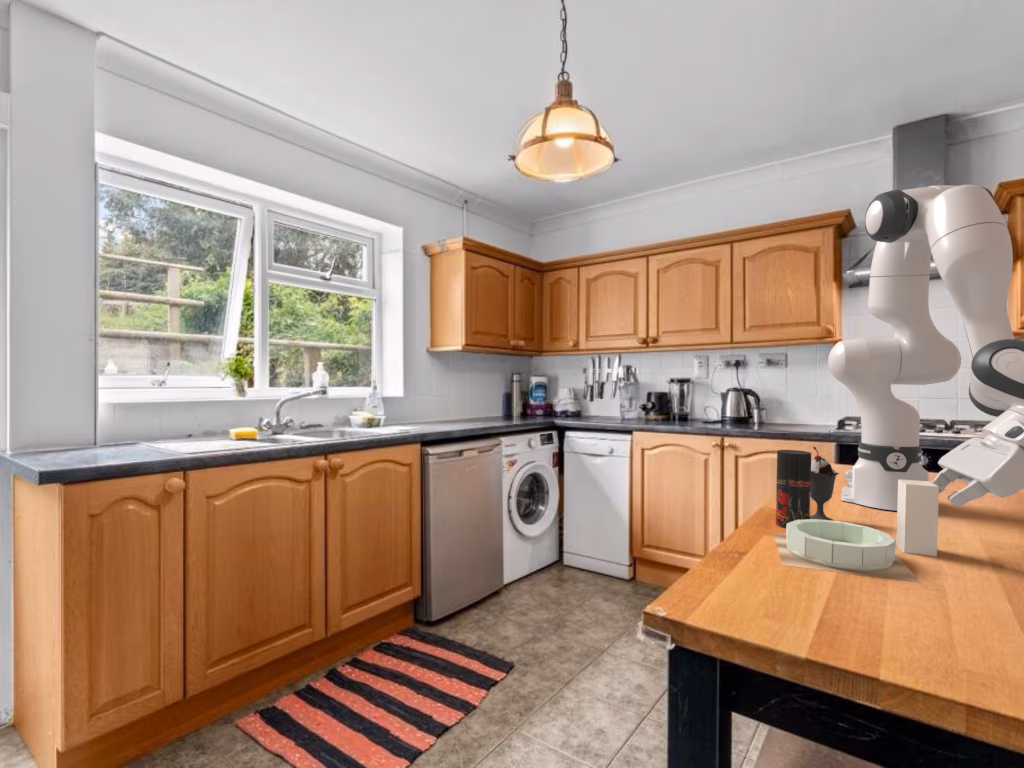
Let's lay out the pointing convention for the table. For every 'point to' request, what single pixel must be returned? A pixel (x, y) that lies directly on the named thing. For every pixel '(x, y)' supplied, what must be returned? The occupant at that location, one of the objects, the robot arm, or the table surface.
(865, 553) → the bowl
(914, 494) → the tall white box
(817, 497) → the sundae
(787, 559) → the cork mat
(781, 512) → the deodorant
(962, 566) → the table surface
